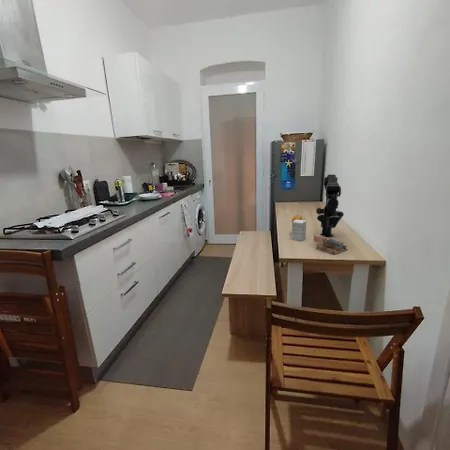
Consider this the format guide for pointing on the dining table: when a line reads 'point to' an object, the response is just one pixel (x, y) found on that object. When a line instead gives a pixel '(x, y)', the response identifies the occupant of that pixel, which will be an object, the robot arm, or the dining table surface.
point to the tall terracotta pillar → (320, 239)
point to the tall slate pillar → (335, 243)
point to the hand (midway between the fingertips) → (329, 229)
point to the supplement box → (298, 230)
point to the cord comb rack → (331, 249)
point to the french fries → (297, 217)
